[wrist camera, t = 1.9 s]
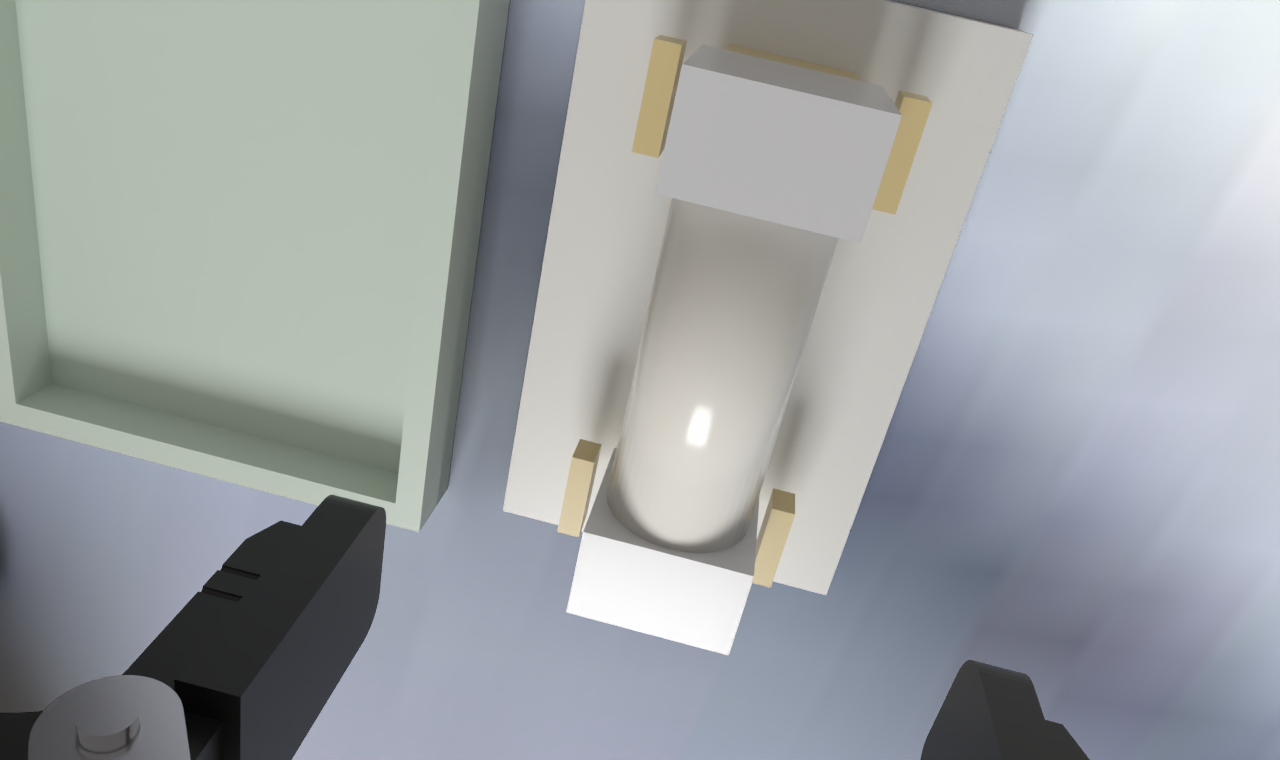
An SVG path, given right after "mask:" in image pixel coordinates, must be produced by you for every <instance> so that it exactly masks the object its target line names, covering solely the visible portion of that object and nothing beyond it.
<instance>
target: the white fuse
mask: <svg viewBox="0 0 1280 760" xmlns="http://www.w3.org/2000/svg"><path fill="white" fill-rule="evenodd" d="M901 118H902V114H901V113H900V111H899V110H898V108H897V107H896V105H895V104H894V102H893V101H892V99H891V98H890V96H889V95H888V93H887V91H886V90H885V88H884V87H883V86H880V85H876V84H871V83H867V82H863V81H858V80H854V79H850V78H845V77H841V76H837V75H832V74H828V73H824V72H819V71H815V70H811V69H806V68H802V67H798V66H793V65H789V64H785V63H780V62H776V61H772V60H768V59H763V58H759V57H755V56H750V55H746V54H742V53H737V52H733V51H729V50H724V49H720V48H716V47H711V46H707V45H702V46H701V47H700V48H699V49H698V50H696V51H695V52H694V53H693V54H692V55H691V56H690V57H689V58H688V59H687V60H686V61H685V62H684V63H683V64H682V68H681V73H680V77H679V82H678V87H677V92H676V96H675V101H674V106H673V110H672V115H671V120H670V125H669V129H668V134H667V139H666V143H665V148H664V153H663V158H662V162H661V167H660V172H659V177H658V181H657V186H656V191H655V194H658V195H662V196H666V197H670V198H672V200H671V204H670V209H669V213H668V218H667V222H666V227H665V232H664V236H663V241H662V245H661V250H660V254H659V259H658V263H657V268H656V272H655V277H654V281H653V286H652V290H651V295H650V300H649V304H648V309H647V313H646V318H645V322H644V327H643V331H642V336H641V340H640V345H639V349H638V354H637V359H636V363H635V368H634V372H633V377H632V381H631V386H630V390H629V395H628V399H627V404H626V408H625V413H624V418H623V422H622V427H621V431H620V436H619V440H618V445H617V448H614V450H613V453H612V455H611V458H610V461H609V464H608V466H607V469H606V472H605V474H604V477H603V480H602V483H601V485H600V488H599V491H598V493H597V496H596V499H595V502H594V504H593V507H592V510H591V512H590V515H589V518H588V521H587V523H586V526H585V529H584V531H583V536H582V541H581V545H580V550H579V555H578V559H577V564H576V569H575V574H574V578H573V583H572V588H571V593H570V597H569V602H568V607H567V611H566V612H567V613H571V614H575V615H579V616H582V617H586V618H590V619H594V620H597V621H601V622H605V623H609V624H612V625H616V626H620V627H624V628H627V629H631V630H635V631H639V632H643V633H646V634H650V635H654V636H658V637H661V638H665V639H669V640H673V641H676V642H680V643H684V644H688V645H691V646H695V647H699V648H703V649H706V650H710V651H714V652H718V653H721V654H725V655H729V653H730V650H731V646H732V643H733V640H734V637H735V634H736V631H737V628H738V625H739V622H740V618H741V615H742V612H743V609H744V606H745V603H746V600H747V597H748V594H749V590H750V587H751V584H752V581H753V578H754V569H755V555H756V540H757V525H758V510H759V496H760V491H761V488H762V485H763V481H764V478H765V475H766V472H767V468H768V465H769V462H770V459H771V455H772V452H773V449H774V446H775V443H776V439H777V436H778V433H779V430H780V426H781V423H782V420H783V417H784V413H785V410H786V407H787V404H788V400H789V397H790V394H791V391H792V388H793V384H794V381H795V378H796V375H797V371H798V368H799V365H800V362H801V358H802V355H803V352H804V349H805V346H806V342H807V339H808V336H809V333H810V329H811V326H812V323H813V320H814V316H815V313H816V310H817V307H818V304H819V300H820V297H821V294H822V291H823V287H824V284H825V281H826V278H827V274H828V271H829V268H830V265H831V261H832V258H833V255H834V252H835V249H836V245H837V242H838V239H839V238H841V239H845V240H849V241H853V242H857V243H861V242H862V239H863V236H864V233H865V230H866V227H867V223H868V220H869V217H870V214H871V211H872V208H873V205H874V202H875V199H876V195H877V192H878V189H879V186H880V183H881V180H882V177H883V174H884V171H885V167H886V164H887V161H888V158H889V155H890V152H891V149H892V146H893V143H894V139H895V136H896V133H897V130H898V127H899V124H900V121H901Z"/></svg>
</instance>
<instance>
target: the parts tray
mask: <svg viewBox="0 0 1280 760" xmlns="http://www.w3.org/2000/svg"><path fill="white" fill-rule="evenodd" d="M509 3H510V0H0V422H3V423H7V424H11V425H15V426H18V427H22V428H26V429H30V430H34V431H37V432H41V433H45V434H49V435H53V436H56V437H60V438H64V439H68V440H71V441H75V442H79V443H83V444H87V445H90V446H94V447H98V448H102V449H106V450H109V451H113V452H117V453H121V454H125V455H128V456H132V457H136V458H140V459H143V460H147V461H151V462H155V463H159V464H162V465H166V466H170V467H174V468H178V469H181V470H185V471H189V472H193V473H197V474H200V475H204V476H208V477H212V478H215V479H219V480H223V481H227V482H231V483H234V484H238V485H242V486H246V487H250V488H253V489H257V490H261V491H265V492H269V493H272V494H276V495H280V496H284V497H287V498H291V499H295V500H299V501H303V502H306V503H310V504H314V505H318V506H319V505H320V504H321V502H322V501H323V500H324V499H325V498H326V497H327V496H329V495H336V496H340V497H344V498H348V499H352V500H356V501H360V502H363V503H367V504H371V505H375V506H379V507H383V508H384V509H385V511H386V524H390V525H394V526H397V527H401V528H405V529H409V530H412V531H416V532H419V531H420V530H421V528H422V527H423V525H424V524H425V522H426V521H427V519H428V518H429V516H430V515H431V513H432V512H433V510H434V508H435V507H436V505H437V504H438V502H439V501H440V499H441V498H442V496H443V495H444V493H445V492H446V490H447V489H448V481H449V473H450V465H451V457H452V449H453V442H454V434H455V426H456V418H457V410H458V402H459V395H460V387H461V379H462V371H463V363H464V355H465V348H466V340H467V332H468V324H469V316H470V308H471V301H472V293H473V285H474V277H475V269H476V261H477V254H478V246H479V238H480V230H481V222H482V214H483V206H484V199H485V191H486V183H487V175H488V167H489V159H490V152H491V144H492V136H493V128H494V120H495V112H496V105H497V97H498V89H499V81H500V73H501V65H502V58H503V50H504V42H505V34H506V26H507V18H508V11H509Z"/></svg>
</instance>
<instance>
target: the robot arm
mask: <svg viewBox="0 0 1280 760" xmlns="http://www.w3.org/2000/svg"><path fill="white" fill-rule="evenodd" d="M385 529H386V511H385V509H384V508H383V507H379V506H375V505H371V504H367V503H363V502H360V501H356V500H352V499H348V498H344V497H340V496H336V495H329V496H327V497H326V498H325V499H324V500H323V501H322V502H321V504H320V505H319V506H318V507H317V508H316V510H315V511H314V512H313V513H312V514H311V516H310V517H309V518H308V519H307V520H306V522H305V523H304V524H303V525H302V526H300V525H296V524H292V523H288V522H284V521H279V522H278V523H276V524H274V525H272V526H270V527H268V528H266V529H264V530H262V531H261V532H259V533H257V534H255V535H253V536H251V537H249V538H247V539H246V540H245V541H244V542H243V543H242V544H241V545H240V546H239V547H238V548H237V550H236V551H235V552H234V553H233V554H232V555H231V556H230V557H229V558H228V559H227V561H226V562H225V563H224V564H223V565H222V569H221V570H220V571H219V570H217V572H216V573H215V574H214V575H213V576H212V577H211V578H210V579H209V580H208V581H207V583H206V584H205V585H204V586H203V589H202V591H201V592H197V594H196V595H195V596H194V597H193V598H192V599H191V600H190V601H189V602H188V603H187V605H186V606H185V607H184V608H183V609H182V610H181V611H180V612H179V613H178V614H177V615H176V617H175V618H174V619H173V620H172V621H171V622H170V623H169V624H168V625H167V626H166V628H165V629H164V630H163V631H162V632H161V633H160V634H159V635H158V636H157V637H156V639H155V640H154V641H153V642H152V643H151V644H150V645H149V646H148V647H147V648H146V650H145V651H144V652H143V653H142V654H141V655H140V656H139V657H138V658H137V659H136V661H135V662H134V663H133V664H132V665H131V666H130V667H129V668H128V669H127V670H126V671H125V672H124V673H123V674H122V675H118V676H111V677H105V678H101V679H97V680H93V681H90V682H88V683H85V684H82V685H80V686H78V687H76V688H74V689H72V690H70V691H68V692H66V693H65V694H63V695H62V696H60V697H59V698H57V699H56V700H55V701H53V702H52V703H51V704H50V705H49V706H48V707H47V708H46V709H45V710H44V711H39V712H25V713H0V760H292V758H293V756H294V755H295V753H296V751H297V750H298V748H299V746H300V745H301V743H302V742H303V740H304V738H305V737H306V735H307V733H308V732H309V730H310V728H311V727H312V725H313V723H314V722H315V720H316V718H317V717H318V715H319V714H320V712H321V710H322V709H323V707H324V705H325V704H326V702H327V700H328V699H329V697H330V695H331V694H332V692H333V691H334V689H335V687H336V686H337V684H338V682H339V681H340V679H341V677H342V676H343V674H344V672H345V671H346V669H347V667H348V666H349V664H350V663H351V661H352V659H353V658H354V656H355V654H356V653H357V651H358V649H359V648H360V646H361V644H362V643H363V641H364V639H365V637H366V635H367V633H368V631H369V629H370V626H371V624H372V621H373V618H374V615H375V612H376V608H377V604H378V599H379V593H380V582H381V572H382V561H383V550H384V539H385ZM921 760H1090V759H1089V758H1088V757H1087V756H1086V754H1085V753H1084V752H1083V750H1082V749H1081V748H1080V747H1079V745H1078V744H1077V743H1076V741H1075V740H1074V739H1073V737H1072V736H1071V735H1070V734H1069V732H1068V731H1067V730H1066V728H1065V727H1064V726H1063V725H1062V724H1059V723H1055V722H1051V721H1047V720H1045V719H1044V716H1043V713H1042V710H1041V707H1040V704H1039V701H1038V698H1037V695H1036V692H1035V689H1034V686H1033V683H1032V681H1031V679H1030V678H1029V677H1028V676H1027V675H1026V674H1023V673H1019V672H1015V671H1012V670H1008V669H1004V668H1000V667H996V666H992V665H988V664H984V663H980V662H976V661H973V660H968V661H966V662H965V663H964V664H963V665H962V667H961V668H960V670H959V672H958V674H957V676H956V678H955V680H954V682H953V684H952V686H951V688H950V690H949V692H948V695H947V697H946V699H945V701H944V703H943V705H942V707H941V709H940V711H939V713H938V715H937V717H936V720H935V722H934V724H933V726H932V728H931V730H930V732H929V734H928V736H927V739H926V741H925V744H924V747H923V751H922V755H921Z"/></svg>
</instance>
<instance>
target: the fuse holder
mask: <svg viewBox="0 0 1280 760" xmlns="http://www.w3.org/2000/svg"><path fill="white" fill-rule="evenodd" d="M1032 37H1033V34H1030V33H1027V32H1024V31H1021V30H1018V29H1013V28H1009V27H1004V26H1000V25H996V24H991V23H987V22H982V21H978V20H974V19H969V18H965V17H960V16H956V15H951V14H947V13H943V12H938V11H934V10H929V9H925V8H921V7H916V6H912V5H907V4H903V3H898V2H894V1H890V0H586V1H585V7H584V13H583V19H582V26H581V32H580V38H579V44H578V50H577V56H576V63H575V69H574V75H573V81H572V87H571V94H570V100H569V106H568V112H567V118H566V124H565V131H564V137H563V143H562V149H561V155H560V162H559V168H558V174H557V180H556V186H555V192H554V199H553V205H552V211H551V217H550V223H549V229H548V236H547V242H546V248H545V254H544V260H543V267H542V273H541V279H540V285H539V291H538V297H537V304H536V310H535V316H534V322H533V328H532V335H531V341H530V347H529V353H528V359H527V365H526V372H525V378H524V384H523V390H522V396H521V403H520V409H519V415H518V421H517V427H516V433H515V440H514V446H513V452H512V458H511V464H510V471H509V477H508V483H507V489H506V495H505V501H504V508H503V511H506V512H510V513H514V514H517V515H521V516H525V517H529V518H533V519H537V520H540V521H544V522H548V523H552V524H556V525H559V526H558V531H557V532H560V533H564V534H568V535H571V536H575V537H579V535H580V533H581V531H584V529H585V526H586V523H587V521H588V518H589V515H590V512H591V510H592V507H593V504H594V502H595V499H596V496H597V493H598V491H599V488H600V485H601V483H602V480H603V477H604V474H605V472H606V469H607V466H608V464H609V461H610V458H611V455H612V453H613V450H614V448H617V445H618V440H619V436H620V431H621V427H622V422H623V418H624V413H625V408H626V404H627V399H628V395H629V390H630V386H631V381H632V377H633V372H634V368H635V363H636V359H637V354H638V349H639V345H640V340H641V336H642V331H643V327H644V322H645V318H646V313H647V309H648V304H649V300H650V295H651V290H652V286H653V281H654V277H655V272H656V268H657V263H658V259H659V254H660V250H661V245H662V241H663V236H664V232H665V227H666V222H667V218H668V213H669V209H670V204H671V200H672V198H670V197H666V196H662V195H658V194H655V191H656V186H657V181H658V177H659V172H660V167H661V162H662V158H663V153H664V148H665V143H666V139H667V134H668V129H669V125H670V120H671V115H672V110H673V106H674V101H675V96H676V92H677V87H678V82H679V77H680V73H681V68H682V64H683V63H684V62H685V61H686V60H687V59H688V58H689V57H690V56H691V55H692V54H693V53H694V52H695V51H696V50H698V49H699V48H700V47H701V46H702V45H707V46H711V47H716V48H720V49H724V50H729V51H733V52H737V53H742V54H746V55H750V56H755V57H759V58H763V59H768V60H772V61H776V62H780V63H785V64H789V65H793V66H798V67H802V68H806V69H811V70H815V71H819V72H824V73H828V74H832V75H837V76H841V77H845V78H850V79H854V80H858V81H863V82H867V83H871V84H876V85H880V86H883V87H884V88H885V90H886V91H887V93H888V95H889V96H890V98H891V99H892V101H893V102H894V104H895V105H896V107H897V108H898V110H899V111H900V113H901V114H902V118H901V121H900V124H899V127H898V130H897V133H896V136H895V139H894V143H893V146H892V149H891V152H890V155H889V158H888V161H887V164H886V167H885V171H884V174H883V177H882V180H881V183H880V186H879V189H878V192H877V195H876V199H875V202H874V205H873V208H872V211H871V214H870V217H869V220H868V223H867V227H866V230H865V233H864V236H863V239H862V242H861V243H857V242H853V241H849V240H845V239H841V238H839V239H838V242H837V245H836V249H835V252H834V255H833V258H832V261H831V265H830V268H829V271H828V274H827V278H826V281H825V284H824V287H823V291H822V294H821V297H820V300H819V304H818V307H817V310H816V313H815V316H814V320H813V323H812V326H811V329H810V333H809V336H808V339H807V342H806V346H805V349H804V352H803V355H802V358H801V362H800V365H799V368H798V371H797V375H796V378H795V381H794V384H793V388H792V391H791V394H790V397H789V400H788V404H787V407H786V410H785V413H784V417H783V420H782V423H781V426H780V430H779V433H778V436H777V439H776V443H775V446H774V449H773V452H772V455H771V459H770V462H769V465H768V468H767V472H766V475H765V478H764V481H763V485H762V488H761V491H760V496H759V510H758V525H757V540H756V555H755V569H754V578H753V581H752V583H755V584H759V585H762V586H766V587H770V588H771V585H772V582H773V581H774V582H778V583H781V584H785V585H789V586H793V587H797V588H801V589H804V590H808V591H812V592H816V593H820V594H824V595H826V594H827V592H828V589H829V586H830V583H831V581H832V578H833V575H834V573H835V570H836V567H837V565H838V562H839V559H840V556H841V554H842V551H843V548H844V546H845V543H846V540H847V537H848V535H849V532H850V529H851V527H852V524H853V521H854V519H855V516H856V513H857V510H858V508H859V505H860V502H861V500H862V497H863V494H864V491H865V489H866V486H867V483H868V481H869V478H870V475H871V473H872V470H873V467H874V464H875V462H876V459H877V456H878V454H879V451H880V448H881V446H882V443H883V440H884V437H885V435H886V432H887V429H888V427H889V424H890V421H891V418H892V416H893V413H894V410H895V408H896V405H897V402H898V400H899V397H900V394H901V391H902V389H903V386H904V383H905V381H906V378H907V375H908V372H909V370H910V367H911V364H912V362H913V359H914V356H915V354H916V351H917V348H918V345H919V343H920V340H921V337H922V335H923V332H924V329H925V327H926V324H927V321H928V318H929V316H930V313H931V310H932V308H933V305H934V302H935V299H936V297H937V294H938V291H939V289H940V286H941V283H942V281H943V278H944V275H945V272H946V270H947V267H948V264H949V262H950V259H951V256H952V253H953V251H954V248H955V245H956V243H957V240H958V237H959V235H960V232H961V229H962V226H963V224H964V221H965V218H966V216H967V213H968V210H969V208H970V205H971V202H972V199H973V197H974V194H975V191H976V189H977V186H978V183H979V180H980V178H981V175H982V172H983V170H984V167H985V164H986V162H987V159H988V156H989V153H990V151H991V148H992V145H993V143H994V140H995V137H996V134H997V132H998V129H999V126H1000V124H1001V121H1002V118H1003V116H1004V113H1005V110H1006V107H1007V105H1008V102H1009V99H1010V97H1011V94H1012V91H1013V89H1014V86H1015V83H1016V80H1017V78H1018V75H1019V72H1020V70H1021V67H1022V64H1023V61H1024V59H1025V56H1026V53H1027V51H1028V48H1029V45H1030V43H1031V40H1032Z"/></svg>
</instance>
